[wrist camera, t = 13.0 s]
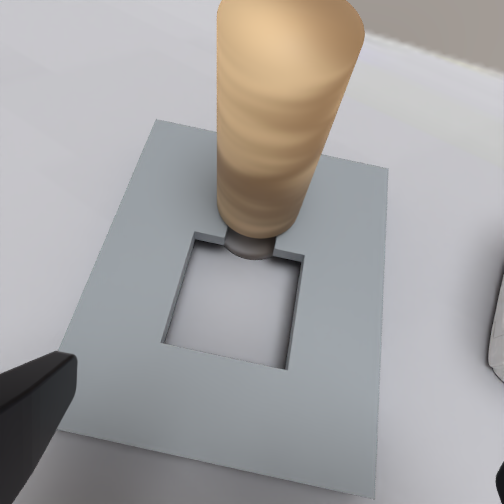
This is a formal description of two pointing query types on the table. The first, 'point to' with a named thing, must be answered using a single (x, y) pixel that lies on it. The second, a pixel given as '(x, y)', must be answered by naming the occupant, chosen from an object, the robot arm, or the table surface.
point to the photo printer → (498, 338)
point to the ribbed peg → (276, 108)
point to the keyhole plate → (224, 368)
